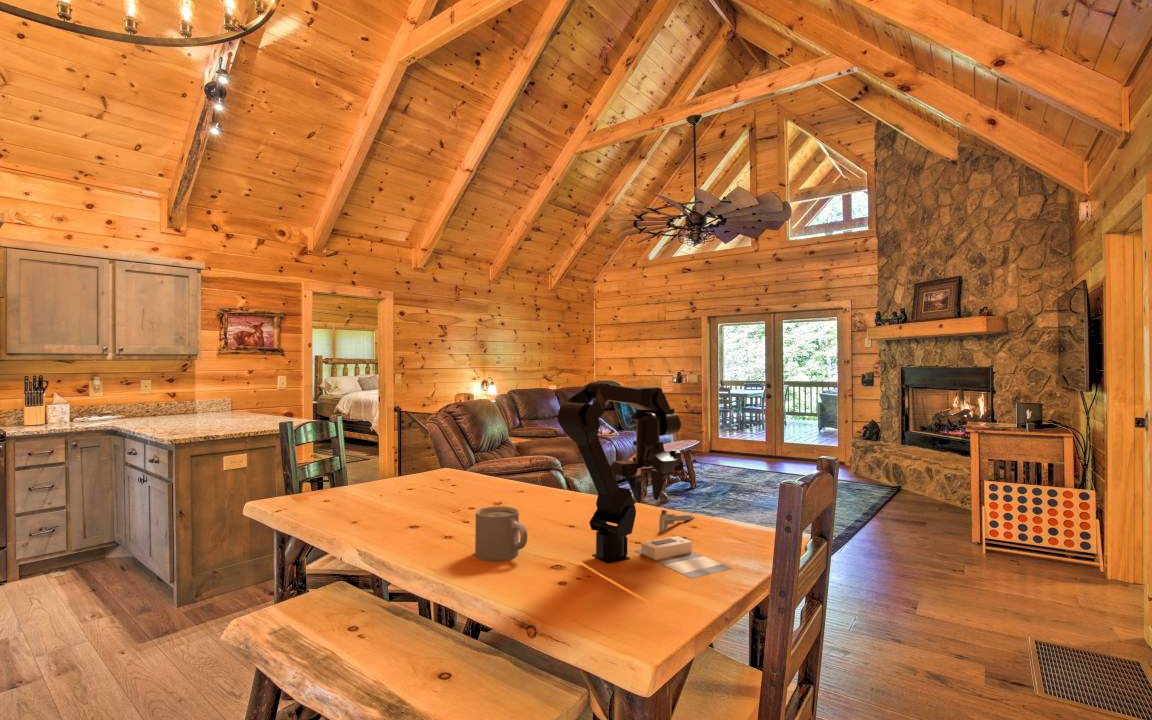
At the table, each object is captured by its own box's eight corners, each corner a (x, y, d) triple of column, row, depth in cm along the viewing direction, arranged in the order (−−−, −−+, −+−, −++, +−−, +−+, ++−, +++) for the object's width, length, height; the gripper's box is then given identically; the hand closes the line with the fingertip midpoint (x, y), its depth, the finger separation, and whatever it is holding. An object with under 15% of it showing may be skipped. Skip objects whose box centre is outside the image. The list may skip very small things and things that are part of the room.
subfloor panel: (691, 580, 117) (691, 578, 117) (633, 552, 134) (633, 550, 134) (733, 570, 123) (733, 568, 123) (672, 545, 140) (672, 543, 140)
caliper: (662, 535, 149) (663, 511, 149) (659, 534, 150) (659, 510, 150) (694, 519, 166) (695, 497, 166) (691, 518, 166) (691, 497, 166)
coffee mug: (466, 554, 132) (467, 511, 132) (500, 545, 139) (501, 504, 139) (502, 568, 122) (503, 522, 123) (536, 558, 129) (537, 514, 130)
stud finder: (654, 559, 128) (654, 548, 128) (641, 553, 132) (641, 542, 132) (691, 552, 133) (691, 540, 133) (677, 546, 137) (677, 535, 137)
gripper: (637, 443, 128) (636, 513, 127) (699, 439, 137) (698, 503, 137) (609, 438, 137) (608, 502, 137) (669, 434, 147) (668, 494, 146)
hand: (647, 501), depth 139 cm, fingers open, 5 cm apart
